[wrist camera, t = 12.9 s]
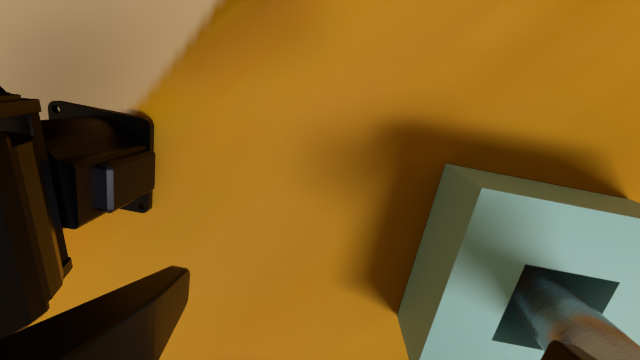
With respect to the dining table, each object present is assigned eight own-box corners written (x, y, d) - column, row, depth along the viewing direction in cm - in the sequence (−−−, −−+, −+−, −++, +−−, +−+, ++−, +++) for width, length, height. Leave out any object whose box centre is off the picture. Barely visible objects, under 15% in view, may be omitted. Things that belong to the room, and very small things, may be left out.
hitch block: (397, 315, 23) (413, 375, 18) (445, 163, 19) (482, 187, 15) (552, 345, 23) (610, 413, 18) (629, 199, 19) (724, 235, 15)
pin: (462, 282, 22) (632, 541, 9) (482, 227, 20) (713, 444, 8) (521, 293, 22) (770, 566, 9) (546, 239, 20) (873, 473, 8)
